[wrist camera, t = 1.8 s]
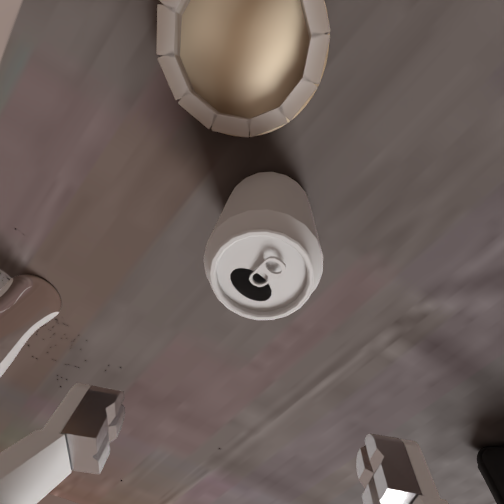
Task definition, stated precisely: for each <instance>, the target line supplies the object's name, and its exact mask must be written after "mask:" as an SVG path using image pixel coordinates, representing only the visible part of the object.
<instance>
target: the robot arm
mask: <svg viewBox="0 0 504 504" xmlns="http://www.w3.org/2000/svg"><path fill="white" fill-rule="evenodd" d="M123 400H124V391H119V390H113V389H108V388H103V387H97V386H93V385H87V384H81V383H76V384H75V385H74V386H73V387H72V388H71V389H70V391H69V392H68V394H67V395H66V396H65V398H64V399H63V401H62V402H61V404H60V405H59V406H58V408H57V409H56V411H55V412H54V414H53V415H52V416H51V418H50V419H49V421H48V422H47V424H46V425H45V426H44V428H43V429H42V430H36V431H34V432H32V433H31V434H29V435H28V436H26V437H24V438H23V439H21V440H20V441H18V442H17V443H15V444H13V445H12V446H10V447H9V448H7V449H6V450H4V451H2V452H1V453H0V504H37V503H38V502H39V501H40V500H41V499H42V498H44V497H45V496H46V495H47V494H48V493H49V492H50V491H51V490H53V489H54V488H55V487H56V486H57V485H58V484H59V483H60V482H61V481H63V480H64V479H65V478H66V477H67V476H68V475H69V474H70V473H71V472H72V471H79V472H86V473H93V474H100V473H101V470H102V468H103V466H104V464H105V462H106V460H107V458H108V456H109V453H110V443H111V442H112V441H113V440H115V439H116V438H117V436H118V434H119V432H120V429H121V427H122V423H123V420H124V415H125V407H124V406H123V405H122V402H123ZM365 444H366V445H365V446H363V447H361V448H360V449H359V452H358V454H357V461H356V466H357V474H358V479H359V481H360V482H361V484H362V485H363V486H364V488H365V489H364V491H363V494H362V499H363V503H364V504H449V503H448V502H447V501H446V500H444V499H441V498H440V496H439V493H438V491H437V488H436V486H435V483H434V481H433V479H432V476H431V474H430V471H429V469H428V466H427V464H426V461H425V459H424V456H423V454H422V451H421V449H420V446H419V445H418V444H417V442H415V441H411V440H404V439H399V438H395V437H388V436H382V435H375V434H368V435H367V436H366V438H365ZM71 470H72V471H71Z"/></svg>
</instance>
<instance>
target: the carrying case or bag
mask: <svg viewBox="0 0 504 504" xmlns="http://www.w3.org/2000/svg"><path fill="white" fill-rule="evenodd" d="M477 463H478V469H479V470H480V472H481V474H482V476H483V478H484V480H485V482H486V483H487V485H488V487H489V489H490V491H491V493H492V495H493V497H494V499H495V501H496V503H497V504H504V447H485V448H483V449H481V450H480V451H479V452H478V455H477Z"/></svg>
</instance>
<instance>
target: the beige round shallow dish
mask: <svg viewBox="0 0 504 504" xmlns="http://www.w3.org/2000/svg"><path fill="white" fill-rule="evenodd" d="M159 1H160V2H161V3H163V4H164V5H160V4H157V55H161V57H159V58H157V59H158V61H159V63H160V66H161V68H162V70H163V72H164V75H165V77H166V79H167V82H168V84H169V86H170V89H171V91H172V93H173V95H174V98H175V100H180V101H179V102H178V104H179V105H180V106H182V107H183V108H184V109H185V110H186V111H188V112H189V113H190V114H191V115H192V116H193V117H195V118H196V119H197V120H198V121H199V122H201V123H202V124H203V125H204V126H205V127H206V128H208V129H210V128H211V129H212V131H215V132H221V133H223V134H227V135H231V136H239V137H248V138H249V137H254V136H258V135H263V134H266V133H269V132H272V131H274V130H276V129H279V128H281V127H282V126H284V125H285V124H287V123H288V122H290V121H291V120H292V119H293V118H295V117H296V116H297V115H298V114H299V113H300V112H301V111H302V110H303V109H304V107H305V106H306V105H307V104H308V102H309V101H310V99H311V98H312V97H313V95H314V93H315V91H316V89H317V88H318V85H319V84H320V81H321V78H322V76H323V73H324V69H325V66H326V62H327V57H328V51H329V40H330V36H331V35H329V32H330V31H331V30H330V26H329V21H328V15H327V9H326V5H325V2H324V0H159Z"/></svg>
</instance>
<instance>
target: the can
mask: <svg viewBox="0 0 504 504" xmlns="http://www.w3.org/2000/svg"><path fill="white" fill-rule="evenodd" d="M204 266H205V271H206V276H207V278H208V280H209V282H210V284H211V287H212V289H213V291H214V293H215V295H216V296H217V298H218V300H219V301H220V302H222V303H223V304H224V305H225V306H226V307H227V308H228V309H229V310H231V311H233V312H235V313H237V314H238V315H240V316H242V317H246V318H251V319H255V320H274V319H278V318H281V317H285V316H288V315H290V314H291V313H293V312H294V311H296V310H298V309H299V308H301V306H302V305H303V304H304V303H305V302H306V301H307V300H308V298H309V297H310V295H311V293H312V292H313V291H314V290H315V289H316V288H317V285H318V283H319V280H320V278H321V275H322V273H323V253H322V250H321V246H320V242H319V238H318V234H317V230H316V226H315V222H314V218H313V214H312V210H311V206H310V203H309V200H308V197H307V195H306V192H305V191H304V190H303V189H302V187H301V186H300V185H299V184H298V183H297V182H296V181H294V180H293V179H291V178H290V177H288V176H286V175H283V174H279V173H275V172H261V173H256V174H254V175H251V176H249V177H246V178H245V179H244V180H242V181H241V182H240V183H239V184H238V185H237V186H235V188H234V190H233V191H232V193H231V195H230V197H229V198H228V200H227V203H226V205H225V207H224V209H223V211H222V213H221V215H220V217H219V219H218V221H217V223H216V225H215V227H214V229H213V231H212V234H211V236H210V238H209V240H208V242H207V244H206V249H205V255H204Z"/></svg>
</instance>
